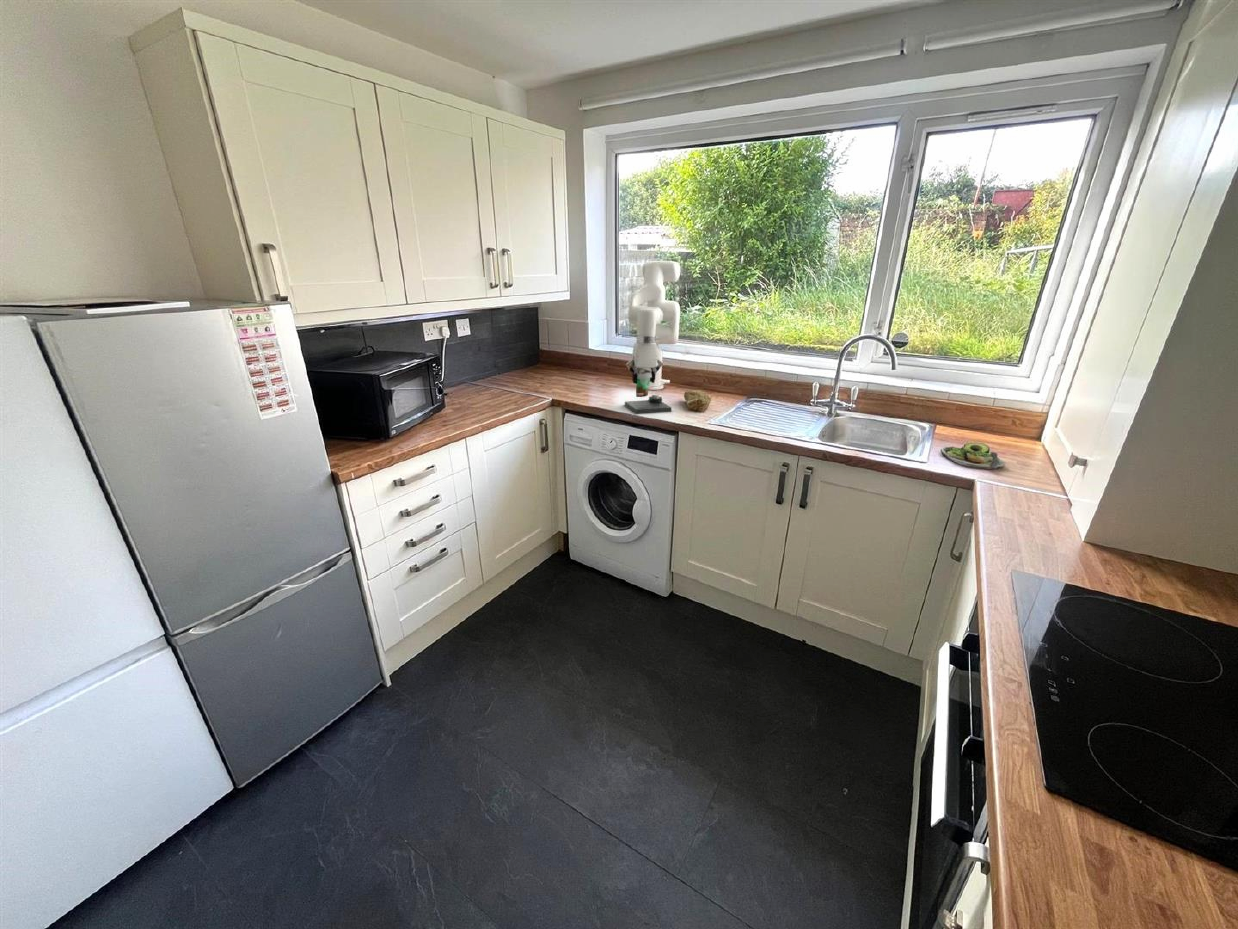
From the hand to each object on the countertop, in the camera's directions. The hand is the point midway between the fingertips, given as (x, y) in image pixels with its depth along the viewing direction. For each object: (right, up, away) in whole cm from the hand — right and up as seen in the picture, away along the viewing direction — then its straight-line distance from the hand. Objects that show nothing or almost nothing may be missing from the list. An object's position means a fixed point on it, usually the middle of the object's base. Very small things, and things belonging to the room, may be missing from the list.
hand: (643, 382), depth 211 cm
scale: (+2, -11, +5) cm, 12 cm away
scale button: (+6, -6, +10) cm, 12 cm away
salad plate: (+108, -33, -43) cm, 121 cm away
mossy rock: (+24, -9, +12) cm, 28 cm away
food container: (0, -5, +2) cm, 5 cm away
